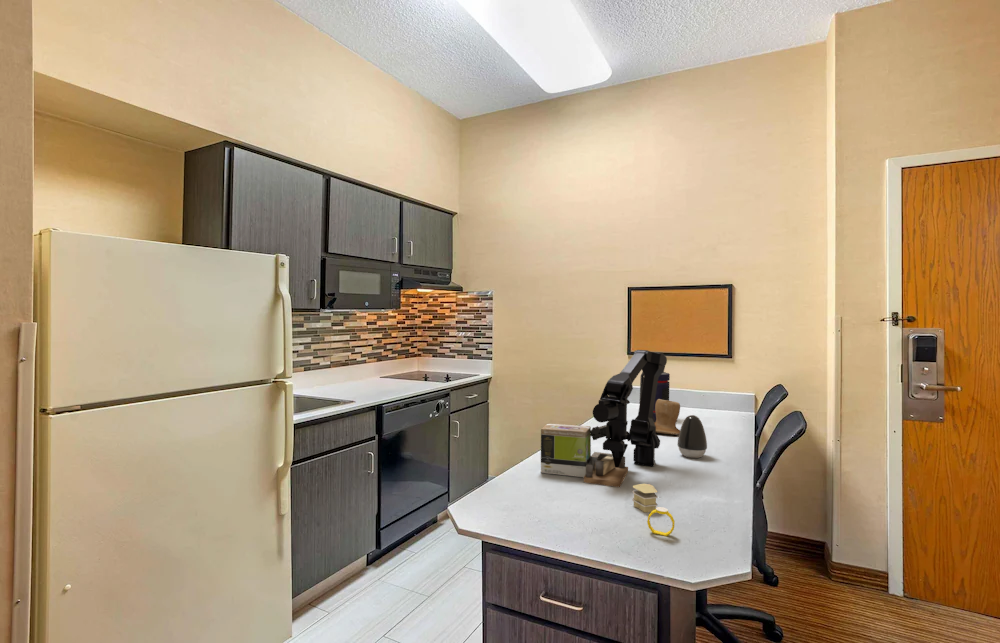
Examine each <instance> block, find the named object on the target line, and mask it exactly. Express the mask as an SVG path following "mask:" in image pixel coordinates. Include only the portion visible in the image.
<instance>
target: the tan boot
mask: <svg viewBox="0 0 1000 643" xmlns="http://www.w3.org/2000/svg"><path fill="white" fill-rule="evenodd" d="M655 412H656V422H654V424H655V426H656V434H663V435H679V433H680V429H679V428H677V421H678V419H679V415H680V412H681V404H680V403H679V402H678V401H674V400H673V401H672V400H669V401H667V400H661V399H658V400H657V401H656V404H655Z"/></svg>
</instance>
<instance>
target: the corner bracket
mask: <svg viewBox="0 0 1000 643" xmlns="http://www.w3.org/2000/svg"><path fill="white" fill-rule="evenodd" d="M606 456H609V457H613V456H612V453H607V452H599V451H594V452H593V453H591V459H590V465H593V469H594V470H595V463H596V461H597V460H602V459H603V458H605V457H606Z"/></svg>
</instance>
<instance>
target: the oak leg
mask: <svg viewBox="0 0 1000 643" xmlns="http://www.w3.org/2000/svg"><path fill="white" fill-rule="evenodd" d="M613 468H615V464H614V460H613V457H609V456H606V457H605V458H603V459H602V460H597V461H596V463H595V473H596V475H597V476H603V475H605V474H606V473H607V472H609V471H610V470H612V469H613Z"/></svg>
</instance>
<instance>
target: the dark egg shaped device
mask: <svg viewBox="0 0 1000 643" xmlns="http://www.w3.org/2000/svg"><path fill="white" fill-rule="evenodd" d="M679 430H680V433H679V434H678V437H677V447H678V450H679V453H681V454H682V456H683V457H686V458H690V459H699V458H701V457H703V456H704V455H705V454H706V452H707V451H706V450H707V449H708V442H707V436H706V435H707V434H706V432H705V428H704V425H703V422H702V421H701V420H700V418H699V417H698V416H696V415H694V414H692V415H691V414H690V415H688V416H686V418H684V420H683V421H682V425H681V427H680V429H679Z"/></svg>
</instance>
